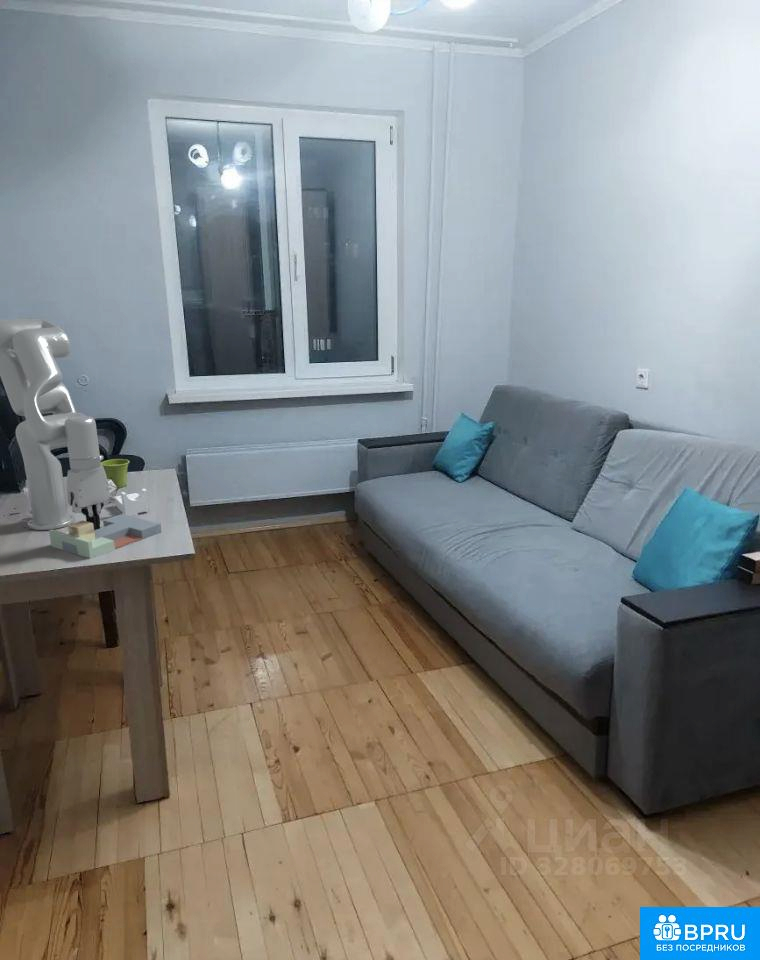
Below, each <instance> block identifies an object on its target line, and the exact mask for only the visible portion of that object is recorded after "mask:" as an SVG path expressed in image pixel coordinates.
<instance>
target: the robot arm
mask: <svg viewBox="0 0 760 960" xmlns="http://www.w3.org/2000/svg"><path fill="white" fill-rule="evenodd" d="M71 348H72V344H71V340H70V337H69V336H68V335H67V333H66V331H64V330H63V329H62V328H61V327H59V326H58V325H57V324H55V323H53V322H51V321H49V320H47V319H45V318H41V317H40V318H37V317H35V318H33V317H32V318H6V319H0V379H1V382H2V385H3V387H4V390H5V393H6V396H7V398H8V401H9V403H10V406H11V408H12V411H13V413H15V414H16V415H18V416H21V417H22V416H23V417H25V420H23V421H22V422H20V423H19V424H18V425H17V426H16V428H15V437H16V442H17V443H18V447H19V449H20V452H21V457H22V460H23V464H24V470H25V471H24V473H25V477H26V482H27V483H26V484H27V489H28V490H27V491H28V496H29V502H30V509H28V513H29V514H31V517H32V518H31V519H29V521H28V522H27V527H28V528H29V529H31V530H36V531H49V530H52V529H53V530H56V529H60V528H63V527H68V525H70V524H73V523H75V519H76V518H75V516H74V515H73V514H71V513H69V510H68V505H69V506H70V507H72V508H71V512H72V513H74V514H82V515H83V516H85V521H87V522H90V523H93V525H94V530H97V529H100V528H101V519H100V518H101V517H100V515H101V513H102V510H103V508H104V507H105V506H107V505H108V504H109V503H111V501H109V497H110V491H109V485H108V480H107V476H106V473H105V470H104V467H103V466H102V465H101V462H102V461H103V460H104V459H105V458H104V455H102V454H101V453H100V447H99V446H100V445H99V439H98V438H99V437H98V429H97V424H96V419H95V418H94V417H92V416H90V415H89V416H88V415H86V414H84V413H82V412H79V411H77V410H76V407H75V405H74V402H73V399H72V397H71V394H70V391H69V390H68V387H67V386H66V385H65V384H64V383H63V373H62V371H61V369H60V367H59V365H58V363H57V361H56V359H60V358H61V359H62V358H66V357H68V356H69V355H70V353H71ZM51 413H52V414H51ZM44 414H48V415H44ZM49 414H50V415H49ZM61 448H67V453H68V460H69V467H70V469H69V470H67V475H66V476H67V477H66V488H65V482H64V476H63V475H64V474H63V469H62V464H61V461H60V460H59V459H58V458H57V457H56V456H55V455H54V454H53V453H52V452H51V451H52V450H56V449H61ZM66 494H67V497H66ZM67 503H68V504H67Z"/></svg>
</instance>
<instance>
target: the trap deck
mask: <svg viewBox="0 0 760 960" xmlns="http://www.w3.org/2000/svg"><path fill="white" fill-rule="evenodd" d="M102 522H103V526H102V527H100V529H97V530H94V533H95V539H94V540H92V541H90V540H86V539H83V538H80V537H76V536H73V535H70V534H69V532H68V531H65V532H63V531H59V530H56V529H50V530H48V532H49V533H48V534H49V539H50V540H49V541H50V545H51V547H53V548H56V549H60V550H63V551H65V552H69V553H71V554H75V555H78V556H81V557H84V558H86V559H94V558H96V557H98V556H101V555H104V554H106V553H109V552H112V551H114V550H117V548H118V549H120V548H123V547H125V545H126V546H128V545H130V543H131V544H133V542H134V543H136V542H138V540H139V541H142V540H145V539H147V538H150V537H152V536H155V535H157V534H159V533H162V526H161V523H159V522H154V521H151V520H146V519H144V518H139V517H136V516H128V515H124V514H122V513H121V514H118V515H114V516H112V517H108V518H105V519H103V520H102Z"/></svg>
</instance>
